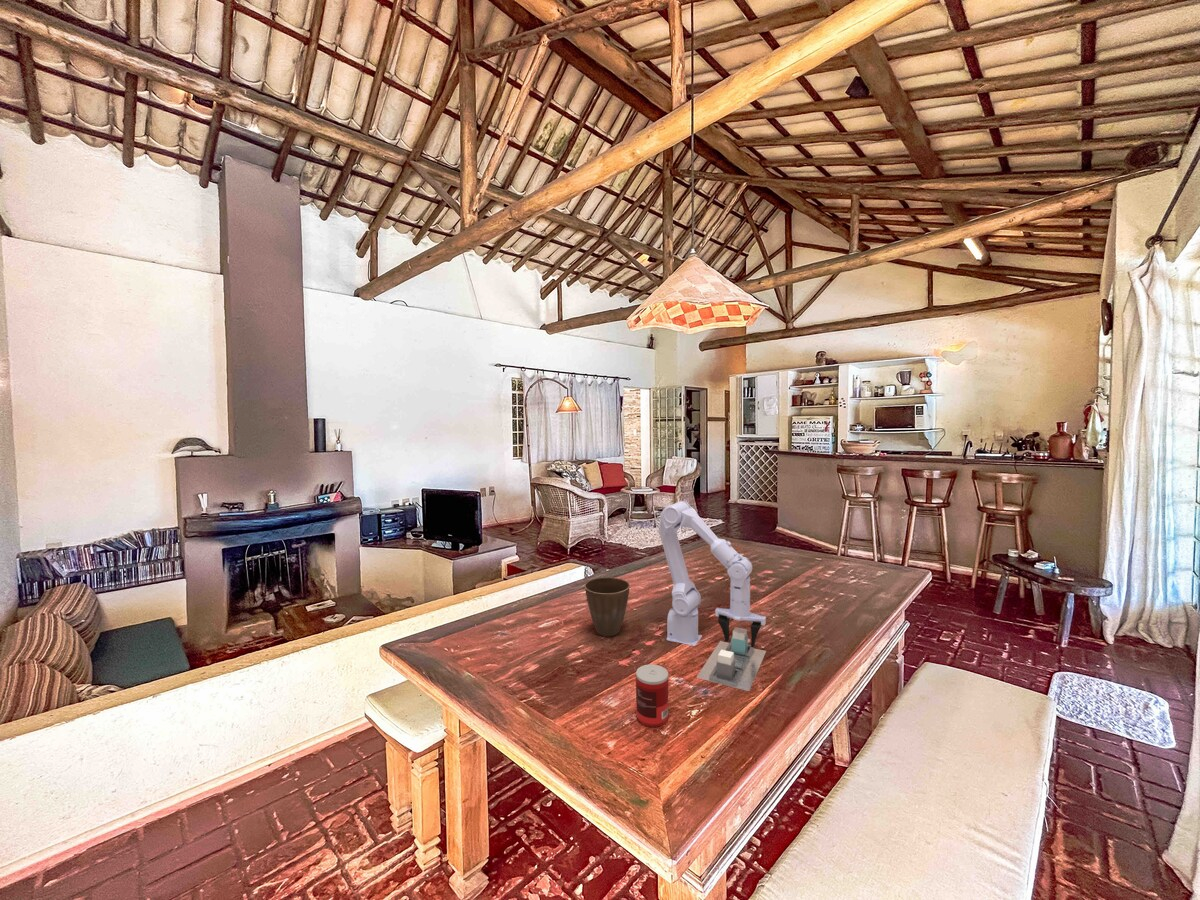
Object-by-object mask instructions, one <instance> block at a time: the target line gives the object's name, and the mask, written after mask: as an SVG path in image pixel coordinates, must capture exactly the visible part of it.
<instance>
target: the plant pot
mask: <svg viewBox="0 0 1200 900" xmlns="http://www.w3.org/2000/svg"><path fill="white" fill-rule="evenodd" d="M630 585H631V584H630V583H629V582H628V581H627V580H625V579H622V578H617V577H599V578H594V579H591V580H588V581H587V582H586V583H585V584H584V589H585V597H586V601H587V606H588V610H589V613H590V614H589V615H590V616H591V620H592V624H593V625H594V628H595V630H596V633H597V634H598V635H600V636H601V637H614V636H616V635H618V634H619V632H620V630H621V627H622V626H623V625H622V624H623V622H624V618H625V614H626V612H627V607H628V601H629V594H630V588H631V587H630Z"/></svg>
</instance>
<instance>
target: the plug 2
mask: <svg viewBox="0 0 1200 900" xmlns="http://www.w3.org/2000/svg"><path fill="white" fill-rule="evenodd" d="M730 639H731V640H730V641H731V651H734V652H739V653H743V654H746V653H747V651H748V645H749V635H748V630H747V629H746V628H742V627H734V629H733V630H732V637H731V638H730Z"/></svg>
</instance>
